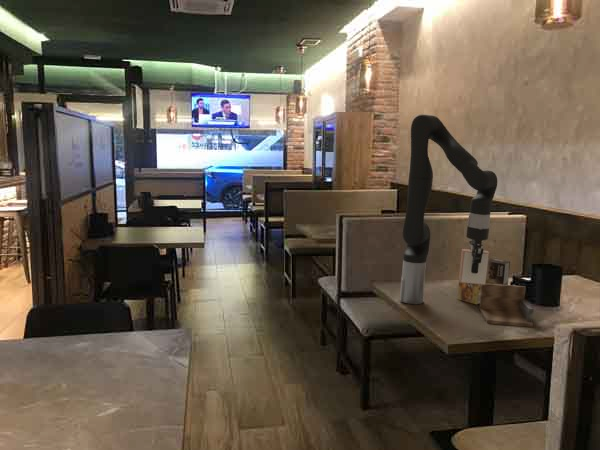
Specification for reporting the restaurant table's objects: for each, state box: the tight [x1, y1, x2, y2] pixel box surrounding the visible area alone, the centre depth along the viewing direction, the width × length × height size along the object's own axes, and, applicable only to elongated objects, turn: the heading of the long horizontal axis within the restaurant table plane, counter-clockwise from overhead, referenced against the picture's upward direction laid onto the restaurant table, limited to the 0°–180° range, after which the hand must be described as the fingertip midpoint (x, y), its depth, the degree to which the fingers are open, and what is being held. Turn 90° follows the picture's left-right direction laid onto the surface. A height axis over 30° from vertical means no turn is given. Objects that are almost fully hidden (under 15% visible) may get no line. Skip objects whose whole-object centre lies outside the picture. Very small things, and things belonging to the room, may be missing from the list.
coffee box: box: [486, 257, 511, 285], centre depth 211 cm, size 9×6×16 cm
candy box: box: [457, 280, 482, 305], centre depth 204 cm, size 9×4×15 cm, turn 44°
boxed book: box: [458, 248, 491, 285], centre depth 180 cm, size 9×4×12 cm, turn 81°
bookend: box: [478, 283, 534, 328], centre depth 185 cm, size 16×14×11 cm
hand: (473, 271), depth 180 cm, fingers closed on boxed book, 4 cm apart
